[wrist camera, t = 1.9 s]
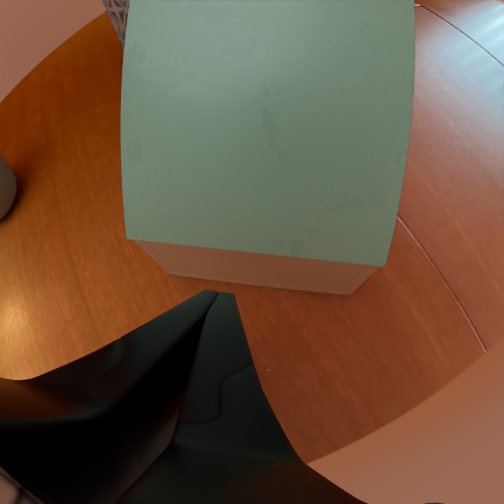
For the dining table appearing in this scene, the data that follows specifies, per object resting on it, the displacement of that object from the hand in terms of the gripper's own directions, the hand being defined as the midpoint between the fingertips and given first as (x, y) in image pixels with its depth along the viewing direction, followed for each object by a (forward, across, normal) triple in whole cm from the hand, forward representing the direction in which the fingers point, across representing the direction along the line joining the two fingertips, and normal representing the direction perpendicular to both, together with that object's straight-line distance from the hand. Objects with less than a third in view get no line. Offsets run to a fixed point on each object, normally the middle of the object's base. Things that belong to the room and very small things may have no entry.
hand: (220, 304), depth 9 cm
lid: (+7, 0, -6) cm, 9 cm away
